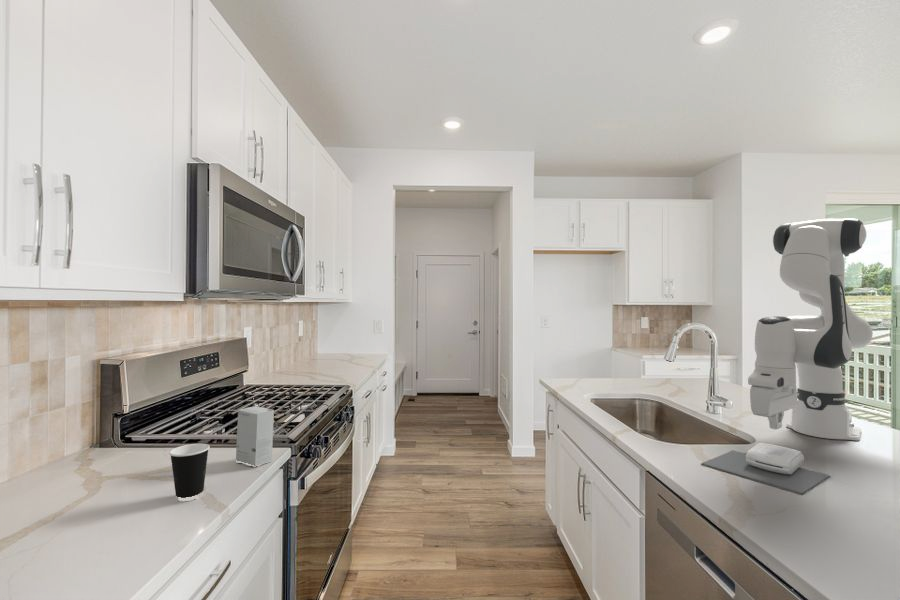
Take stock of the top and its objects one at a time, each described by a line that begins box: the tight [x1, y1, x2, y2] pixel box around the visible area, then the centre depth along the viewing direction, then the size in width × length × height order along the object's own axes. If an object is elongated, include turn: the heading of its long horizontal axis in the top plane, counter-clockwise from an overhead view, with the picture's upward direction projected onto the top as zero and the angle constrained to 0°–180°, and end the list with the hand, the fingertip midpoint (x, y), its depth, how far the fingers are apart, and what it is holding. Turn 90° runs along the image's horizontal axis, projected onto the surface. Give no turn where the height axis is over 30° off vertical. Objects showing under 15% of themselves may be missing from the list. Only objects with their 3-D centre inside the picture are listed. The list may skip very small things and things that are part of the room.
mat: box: [701, 449, 831, 496], centre depth 111 cm, size 18×22×1 cm
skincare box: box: [235, 405, 275, 466], centre depth 119 cm, size 8×6×15 cm
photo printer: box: [746, 442, 805, 474], centre depth 112 cm, size 10×4×12 cm
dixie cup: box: [168, 443, 211, 498], centre depth 98 cm, size 8×8×11 cm
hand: (775, 428), depth 115 cm, fingers closed
